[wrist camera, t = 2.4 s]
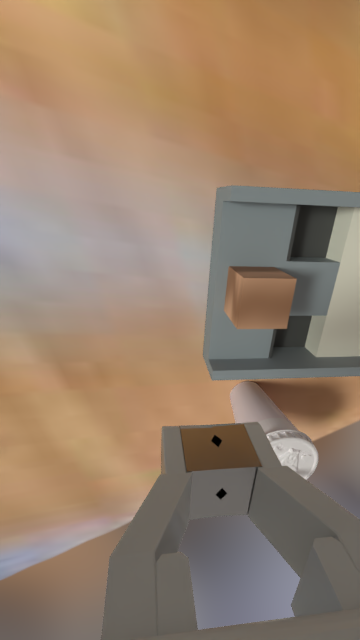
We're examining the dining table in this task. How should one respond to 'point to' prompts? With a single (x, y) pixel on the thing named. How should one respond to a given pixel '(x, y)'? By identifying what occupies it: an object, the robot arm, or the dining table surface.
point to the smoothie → (274, 428)
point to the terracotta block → (259, 297)
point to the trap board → (301, 263)
